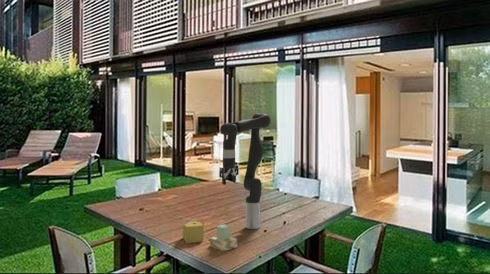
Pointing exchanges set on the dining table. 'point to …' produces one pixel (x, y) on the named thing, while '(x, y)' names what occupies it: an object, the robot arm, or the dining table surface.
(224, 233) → the block
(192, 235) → the cheese
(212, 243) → the birch box
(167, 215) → the dining table surface
